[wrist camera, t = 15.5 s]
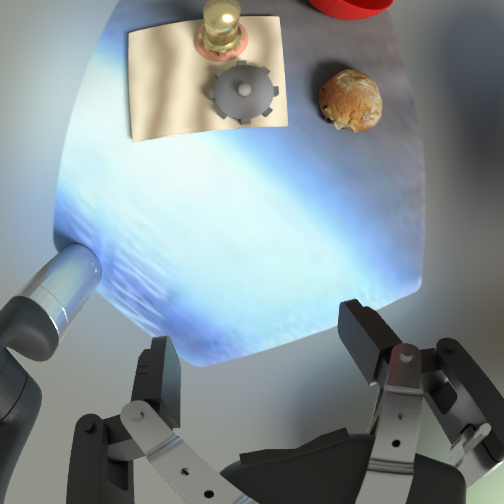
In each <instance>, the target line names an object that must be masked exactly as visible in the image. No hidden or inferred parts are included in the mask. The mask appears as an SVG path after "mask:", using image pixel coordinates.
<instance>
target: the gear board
mask: <svg viewBox="0 0 504 504" xmlns="http://www.w3.org/2000/svg"><path fill="white" fill-rule="evenodd" d="M239 22H240V24H239V27H240V29H241V30H245V38H244V40H240V44H241V47H240V49H239V50H238V51H237V52H235V51H232V52H229V53H226V57H219V54H215V53H212V52H211V53H210V54H208V53H206V52H205V51H204V43H200V42H199V33H202V32H203V24H205V22H204V19H200V20H192V21H185V22H178V23H172V24H167V25H161V26H156V27H152V28H147V29H143V30H139V31H135V32H131V33H129V54H128V63H129V98H130V114H131V127H132V138H133V142H140V141H145V140H150V139H156V138H162V137H168V136H174V135H181V134H189V133H197V132H205V131H215V130H225V129H238V128H253V127H280V126H288V117H287V101H286V87H285V74H284V62H283V51H282V40H281V30H280V21H279V17H272V16H240V18H239Z"/></svg>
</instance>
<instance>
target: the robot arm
mask: <svg viewBox="0 0 504 504" xmlns="http://www.w3.org/2000/svg"><path fill="white" fill-rule="evenodd" d="M100 280H101V266H100V263H99V261H98V259H97V257H96V256H95V255H94V253H93V252H92V251H91V250H89V249H88V248H87V247H85V246H83V245H80V244H71V245H68V246H67V247H65V248H64V249H63V250H62V251H61V252H60V253H58V254H57V255H56V256H55V257H54V258H53V259H52V260H50V261H49V262H48V263H47V264H46V265H45V266H44V267H43V268H42V269H41V270H39V271H38V272H37V273H36V274H35V275H34V276H33V277H32V278H31V279H30V280H29V281H28V282H27V283H26V284H25V285H24V286H23V287H22V288H21V289H20V290H19V291H18V292H17V293H16V294H15V295H14V296H13V297H12V299H10V300H9V302H8V303H7V304H6V305H5V306H4V307H3V309H2V310H1V311H0V504H4V499H5V495H6V491H7V487H8V484H9V481H10V478H11V476H12V473H13V470H14V468H15V465H16V463H17V461H18V458H19V456H20V454H21V452H22V449H23V447H24V445H25V443H26V441H27V439H28V436H29V434H30V432H31V430H32V428H33V426H34V423H35V421H36V419H37V416H38V413H39V410H40V407H41V401H42V393H41V389H40V387H39V386H38V384H37V383H36V382H35V381H34V379H33V378H32V377H31V376H30V375H29V374H28V373H27V372H26V371H25V370H24V369H23V367H22V366H21V365H20V364H19V363H18V362H17V360H16V359H15V358H14V357H13V356H12V354H10V352H9V351H8V350H7V348H6V346H7V347H9V348H12V349H13V350H15V351H16V352H18V353H20V354H21V355H23V356H25V357H26V358H28V359H31V360H34V361H39V362H42V361H46V360H48V359H49V358H51V356H52V355H53V354H54V352H55V350H56V348H57V347H58V345H59V343H60V342H61V340H62V338H63V337H64V335H65V333H66V332H67V330H68V329H69V327H70V325H71V324H72V322H73V321H74V319H75V317H76V316H77V314H78V313H79V311H80V310H81V308H82V307H83V305H84V304H85V302H86V301H87V300H88V298H89V297H90V295H91V294H92V292H93V291H94V290H95V288H96V287H97V285H98V284H99V282H100ZM338 333H339V336H340V338H341V340H342V342H343V344H344V345H345V347H346V348H347V350H348V351H349V353H350V355H351V356H352V358H353V359H354V361H355V363H356V364H357V366H358V368H359V369H360V371H361V372H362V374H363V376H364V377H365V379H366V381H367V382H368V384H369V386H371V385H373V384H376V383H378V384H379V386H380V388H379V392H378V396H377V400H376V404H375V408H374V412H373V416H372V420H371V423H370V426H369V429H368V431H367V434H365V433H348V432H347V429H346V427H345V428H342V429H340V430H336V431H333V432H330V433H327V434H324V435H321V436H319V437H317V438H316V439H314V440H312V441H310V442H308V443H306V444H304V445H302V446H301V447H299V448H296V449H265V450H260V451H254V452H249V453H242V454H239V455H240V460H239V461H237V462H234V463H232V464H231V465H229V466H227V467H226V468H224V469H223V470H222V471H221V472H220V473H218V472H216V471H215V470H214V469H213V468H212V467H211V466H209V465H208V464H207V463H206V462H205V461H204V460H203V459H201V457H200V456H198V454H196V453H195V452H194V451H193V450H192V449H191V448H190V447H189V446H188V445H187V444H186V443H185V442H184V441H183V440H182V439H181V438H180V437H179V436H177V435H176V434H175V433H174V432H173V428H180V388H181V366H180V362H179V358H178V355H177V353H176V351H175V348H174V346H173V343H172V341H171V338H170V336H160V337H153V339H152V344H151V349H145V350H144V351H143V352H142V354H141V355H140V357H139V359H138V364H137V369H136V375H135V380H134V385H133V391H132V397H131V402H130V403H128V404H127V405H126V406H124V407H123V409H122V411H121V413H120V414H119V415H117V416H113V417H110V418H107V419H103V420H102V419H101V418H100V417H99V416H98V415H96V414H86V415H84V416H82V417H81V418H80V419H79V420H78V421H77V423H76V426H75V432H74V437H73V443H72V450H71V457H70V465H69V474H68V483H67V497H66V504H135V503H134V483H133V481H134V479H133V459H137V458H140V457H143V456H147V459H148V461H149V462H150V464H151V465H152V466H153V467H154V468H155V470H156V471H157V472H158V473H159V474H160V475H161V477H162V478H163V479H164V480H165V481H166V482H167V483H168V484H169V486H170V487H171V488H172V489H173V490H174V491H175V492H176V493H177V494H178V495H179V496H180V497H181V498H182V499H183V500H184V501H185V502H186V503H187V504H466V489H467V488H468V487H469V486H471V485H472V484H473V483H475V482H476V481H477V480H479V479H481V478H482V477H484V476H485V475H487V474H488V473H490V472H491V471H492V470H494V469H495V468H496V467H498V466H499V465H500V464H502V463H503V462H504V398H503V397H502V395H501V394H500V393H499V391H498V390H497V389H496V387H495V386H494V385H493V383H492V382H491V381H490V380H489V378H488V377H487V376H486V374H485V373H484V372H483V371H482V369H481V368H480V367H479V366H478V365H477V363H476V362H475V361H474V360H473V359H472V357H471V356H470V355H469V354H468V352H467V351H466V350H465V349H464V348H463V347H462V346H461V345H460V343H459V342H458V341H456V340H455V339H452V338H443V339H440V340H439V341H438V342H437V344H436V347H435V348H430V349H423V350H419V348H418V347H416V346H415V345H413V344H409V343H403V342H402V341H401V340H400V339H399V337H397V335H396V334H395V333H394V331H393V330H392V329H391V328H390V327H389V326H388V325H387V324H386V322H385V321H384V320H383V319H382V318H381V316H380V315H379V314H378V313H377V312H376V311H375V310H373V309H371V308H370V307H368V306H365V307H363V306H362V305H361V304H360V303H359V301H358V300H357V299H352V300H348V301H344V302H341V303H340V306H339V318H338ZM448 380H449V381H450V383H451V384H452V385H453V387H454V388H455V390H456V391H457V393H456V392H455V390H454V389H453V387H452V386H451V385H450V383H449V382H448ZM423 397H424V398H425V400H426V401H427V403H428V405H429V406H430V408H431V410H432V411H433V413H434V415H435V416H436V418H437V420H438V421H439V423H440V425H441V426H442V428H443V430H444V432H445V434H446V435H447V437H448V439H449V441H450V442H451V444H452V446H451V448H450V462H451V463H452V465H449V464H446V463H443V462H440V461H437V460H434V459H431V458H428V457H426V456H423V455H420V454H417V453H415V451H416V447H417V441H418V435H419V429H420V422H421V414H422V413H421V412H422V404H423Z"/></svg>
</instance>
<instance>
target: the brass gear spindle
mask: <svg viewBox="0 0 504 504" xmlns="http://www.w3.org/2000/svg"><path fill="white" fill-rule="evenodd" d="M240 12H241V8H240V5H239V3H238V2H237V1H236V0H210V1H208V2H207V3H206V4H205V6H204V8H203V16H204V22H205V24H203V32H202V33H199V42H200V43H204V51H205V52H206V53H208V54H210V53H211V52H212V53H215V54H219V57H226V53H229V52H232V51H235V52H237V51H238V50H239V49H240V47H241V44H240V40H244V38H245V30H241V29H240V27H239V24H240V22H239V18H240Z"/></svg>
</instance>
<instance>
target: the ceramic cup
mask: <svg viewBox="0 0 504 504" xmlns="http://www.w3.org/2000/svg"><path fill="white" fill-rule="evenodd" d="M309 2H310V3H311V4H312V5H313V6H314V7H315V8H316V9H318V10H319V11H320V12H322V13H324V14H326V15H328V16H330V17H333V18H336V19H341V20H360V19H365V18H368V17H371V16H373V15H376V14H378V13H380V12H382V11H384V10H386V9H387V8H388V7H390V5H391V4H392V3H393V0H309Z"/></svg>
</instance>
